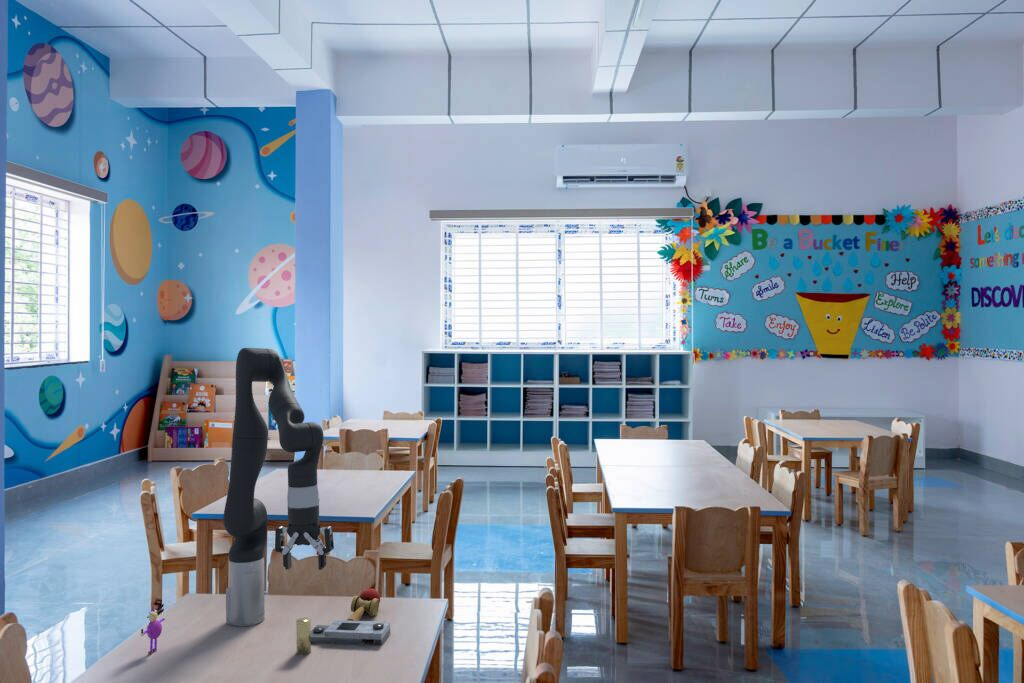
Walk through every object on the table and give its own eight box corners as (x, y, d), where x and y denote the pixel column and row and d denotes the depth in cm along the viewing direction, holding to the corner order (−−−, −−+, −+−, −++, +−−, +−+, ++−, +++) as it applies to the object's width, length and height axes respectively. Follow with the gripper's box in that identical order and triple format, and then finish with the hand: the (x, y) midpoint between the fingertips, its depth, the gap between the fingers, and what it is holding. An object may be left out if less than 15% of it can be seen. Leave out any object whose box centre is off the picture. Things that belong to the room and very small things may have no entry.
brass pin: (294, 654, 189) (294, 622, 188) (299, 649, 192) (299, 617, 192) (307, 655, 188) (307, 622, 188) (313, 649, 191) (312, 617, 191)
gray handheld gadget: (305, 642, 196) (305, 628, 196) (317, 630, 204) (316, 617, 204) (381, 645, 194) (381, 631, 194) (390, 633, 202) (390, 619, 202)
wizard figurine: (159, 643, 196) (159, 596, 196) (171, 643, 196) (171, 596, 196) (135, 662, 185) (135, 612, 185) (148, 662, 185) (148, 612, 185)
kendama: (368, 635, 205) (388, 602, 222) (362, 612, 204) (383, 582, 222) (341, 638, 206) (363, 606, 224) (335, 616, 205) (358, 585, 223)
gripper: (269, 506, 187) (271, 573, 187) (325, 506, 186) (327, 573, 186) (282, 500, 195) (283, 564, 195) (336, 500, 193) (338, 564, 193)
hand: (305, 568), depth 190 cm, fingers open, 8 cm apart
